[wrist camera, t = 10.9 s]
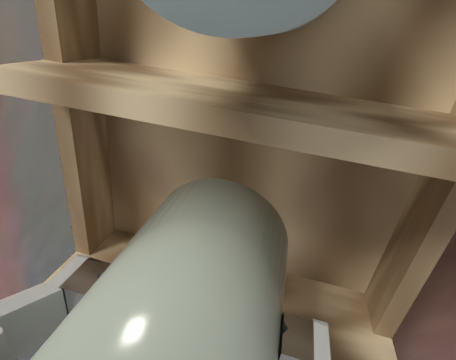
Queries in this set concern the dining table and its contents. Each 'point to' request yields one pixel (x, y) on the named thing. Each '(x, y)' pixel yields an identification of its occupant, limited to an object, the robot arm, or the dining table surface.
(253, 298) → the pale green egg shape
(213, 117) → the rack
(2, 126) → the dining table surface
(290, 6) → the pale blue-grey rounded dome
